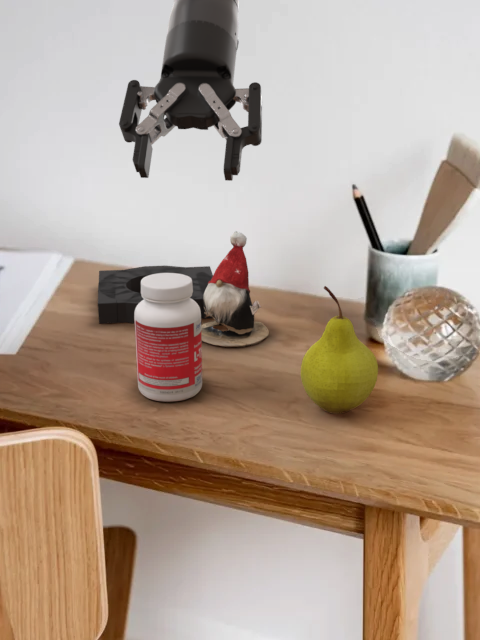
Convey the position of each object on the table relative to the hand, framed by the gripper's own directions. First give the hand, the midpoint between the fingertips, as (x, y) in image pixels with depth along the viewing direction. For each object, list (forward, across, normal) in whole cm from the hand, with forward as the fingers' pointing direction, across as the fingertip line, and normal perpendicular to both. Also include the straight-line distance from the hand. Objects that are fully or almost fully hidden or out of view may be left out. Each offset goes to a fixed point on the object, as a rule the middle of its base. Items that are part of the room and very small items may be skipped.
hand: (185, 174), depth 83 cm
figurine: (+10, +4, +16) cm, 19 cm away
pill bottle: (+21, 0, +5) cm, 21 cm away
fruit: (+22, +16, +4) cm, 28 cm away
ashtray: (+4, -6, +22) cm, 23 cm away
